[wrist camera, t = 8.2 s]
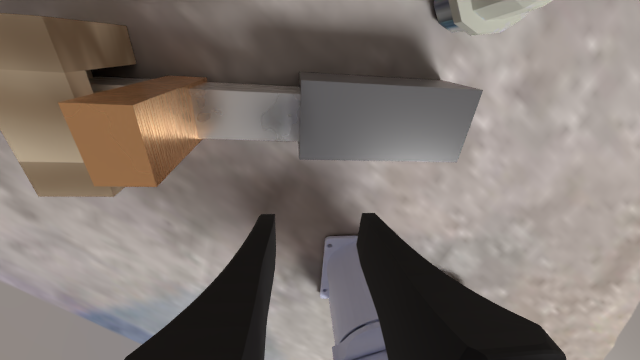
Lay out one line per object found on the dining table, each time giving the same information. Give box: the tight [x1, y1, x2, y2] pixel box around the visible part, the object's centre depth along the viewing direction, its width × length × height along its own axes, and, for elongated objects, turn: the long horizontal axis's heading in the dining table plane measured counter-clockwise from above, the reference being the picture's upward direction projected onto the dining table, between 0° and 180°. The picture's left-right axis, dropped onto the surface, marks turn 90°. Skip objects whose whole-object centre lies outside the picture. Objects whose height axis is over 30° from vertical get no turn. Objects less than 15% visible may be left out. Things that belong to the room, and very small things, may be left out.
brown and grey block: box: [58, 76, 301, 187], centre depth 14 cm, size 4×16×9 cm, turn 87°
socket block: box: [0, 13, 136, 197], centre depth 15 cm, size 9×4×6 cm, turn 176°
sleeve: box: [298, 72, 483, 162], centre depth 17 cm, size 5×11×5 cm, turn 87°
